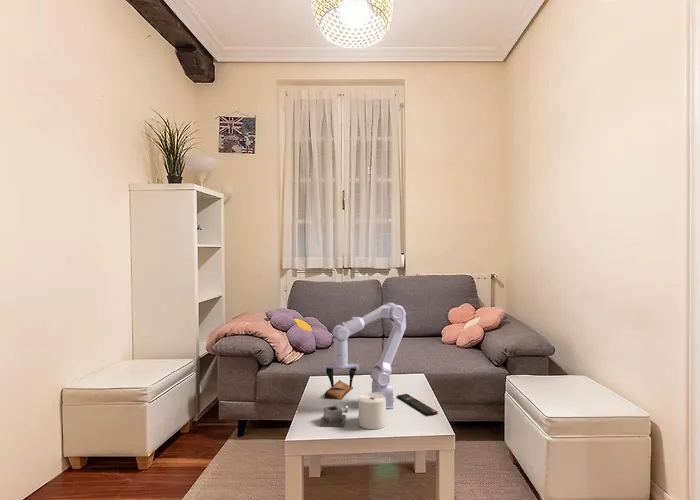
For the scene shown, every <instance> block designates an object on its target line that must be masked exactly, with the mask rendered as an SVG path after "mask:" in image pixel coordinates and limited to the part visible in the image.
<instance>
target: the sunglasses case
mask: <svg viewBox="0 0 700 500" xmlns="http://www.w3.org/2000/svg"><path fill="white" fill-rule="evenodd" d="M353 389H354V387H353V386H352V387H350V384H347V383H346V382H343V381H342V380H340V379H339V380H338V381H337V382H336V383H334V386H333V387H331V386H330V387H329V389H328V390H326V391H325V393H324V399H325V400H326V399H327V400H339V401H340V400H341V401H342V400H343V398H344V397H345V396H347V394H348V393H349V392H350V391H351V390H353Z"/></svg>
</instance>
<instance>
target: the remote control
mask: <svg viewBox="0 0 700 500" xmlns="http://www.w3.org/2000/svg"><path fill="white" fill-rule="evenodd" d="M396 398H398V399H399V400H401V401H403V402H404V403H406V404H407V405H409V406H410V407H412V408H413V409H415V410H417V411H418V412H419V413H421V414H423V415H424V416H426V417H433V416H437V415H438V414H439V412H438V411H437V410H435V409H434V408H432V407H431V406H429V405H427V404H426V403H424V402H422V401H421V400H420V399H417V398H415V397H413V396H412V395H410V394H408V393H403V394H398V395H396Z"/></svg>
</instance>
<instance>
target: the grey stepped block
mask: <svg viewBox="0 0 700 500" xmlns="http://www.w3.org/2000/svg"><path fill="white" fill-rule="evenodd" d="M323 415H324V419H326V420H327V421H328V422H329V423H331V422H335V421H340V420H342V415H343V409H342V408H341V407H339V406H338V405H336V404H335V405H329V406H325V407H323ZM323 415H322V416H323Z"/></svg>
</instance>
